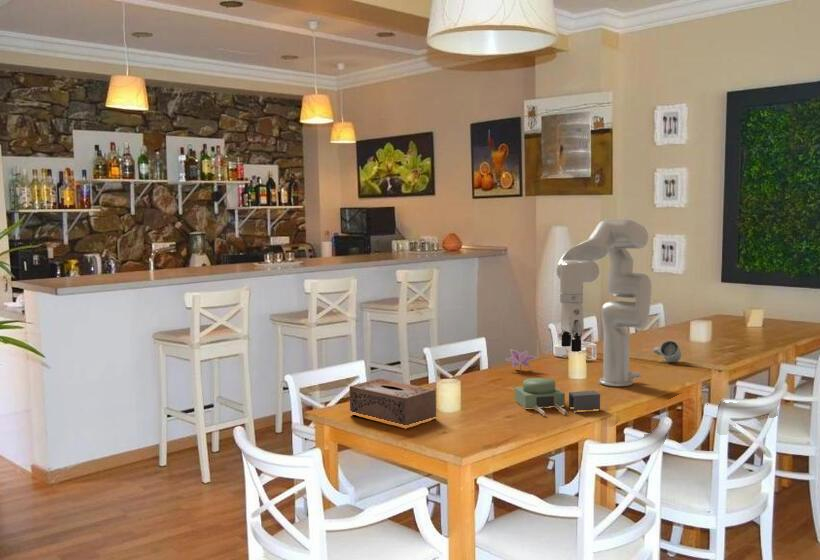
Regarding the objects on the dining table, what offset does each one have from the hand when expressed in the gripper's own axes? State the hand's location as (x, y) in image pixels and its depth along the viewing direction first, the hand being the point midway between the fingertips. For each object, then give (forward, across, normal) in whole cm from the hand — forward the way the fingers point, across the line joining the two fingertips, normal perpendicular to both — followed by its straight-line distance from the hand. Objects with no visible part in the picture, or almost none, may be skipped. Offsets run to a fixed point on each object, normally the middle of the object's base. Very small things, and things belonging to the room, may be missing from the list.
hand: (571, 348), depth 257 cm
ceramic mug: (+19, +60, -64) cm, 90 cm away
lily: (+20, +55, +1) cm, 59 cm away
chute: (+20, -4, -3) cm, 21 cm away
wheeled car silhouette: (+20, +77, -29) cm, 85 cm away
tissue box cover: (+22, +2, +61) cm, 65 cm away
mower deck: (+20, +7, +9) cm, 23 cm away
